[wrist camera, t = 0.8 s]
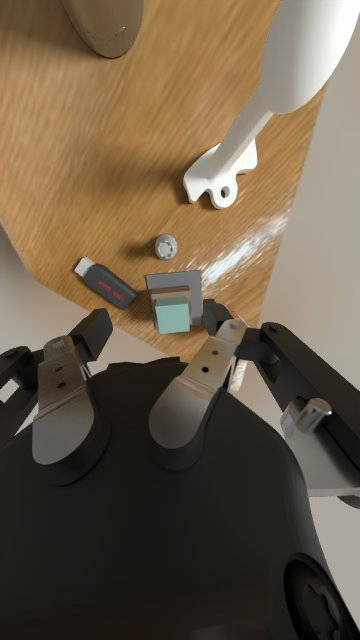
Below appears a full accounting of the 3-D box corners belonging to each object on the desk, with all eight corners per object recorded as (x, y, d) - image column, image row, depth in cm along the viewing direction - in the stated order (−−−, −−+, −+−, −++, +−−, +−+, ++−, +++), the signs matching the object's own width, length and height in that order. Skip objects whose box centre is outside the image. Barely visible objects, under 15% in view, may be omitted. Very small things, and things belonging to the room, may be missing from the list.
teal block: (156, 298, 29) (155, 306, 26) (185, 295, 29) (188, 303, 26) (160, 323, 32) (160, 334, 29) (187, 321, 32) (189, 330, 29)
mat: (146, 275, 31) (145, 275, 31) (200, 269, 31) (201, 270, 31) (156, 328, 38) (156, 329, 38) (201, 324, 38) (201, 325, 38)
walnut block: (152, 288, 32) (150, 294, 29) (188, 285, 32) (190, 290, 29) (158, 319, 36) (157, 327, 33) (189, 316, 36) (191, 324, 33)
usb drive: (125, 307, 35) (122, 313, 33) (77, 272, 30) (69, 275, 28) (139, 293, 33) (136, 297, 31) (90, 253, 29) (83, 254, 26)
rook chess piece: (164, 263, 30) (163, 271, 23) (150, 244, 28) (144, 246, 21) (181, 250, 29) (185, 253, 22) (168, 228, 27) (168, 225, 20)
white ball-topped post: (245, 133, 22) (539, -266, 5) (253, 192, 26) (436, 94, 8) (179, 172, 24) (211, -12, 6) (195, 223, 27) (245, 196, 10)
